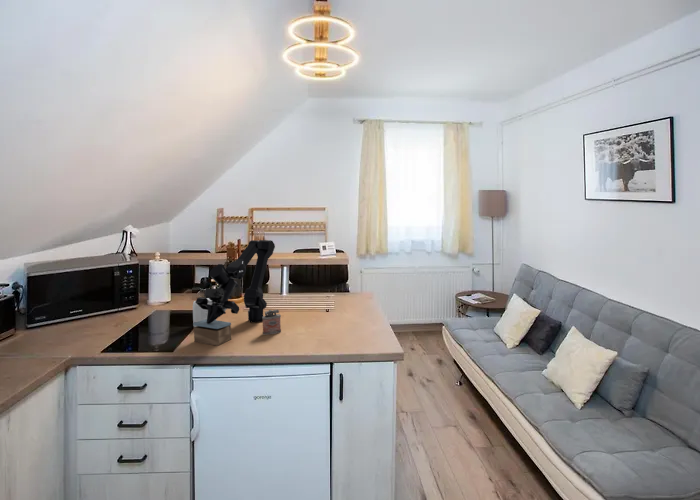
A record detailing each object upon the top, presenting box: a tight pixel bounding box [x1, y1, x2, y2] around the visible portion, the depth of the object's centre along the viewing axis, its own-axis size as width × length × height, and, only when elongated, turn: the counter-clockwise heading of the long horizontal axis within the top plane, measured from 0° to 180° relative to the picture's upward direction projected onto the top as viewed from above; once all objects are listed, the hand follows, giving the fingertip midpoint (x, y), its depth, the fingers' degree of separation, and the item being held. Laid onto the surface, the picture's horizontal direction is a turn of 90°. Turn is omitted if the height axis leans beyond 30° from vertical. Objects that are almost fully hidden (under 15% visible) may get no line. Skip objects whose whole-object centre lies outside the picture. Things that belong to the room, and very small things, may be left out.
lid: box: [192, 319, 232, 329], centre depth 172 cm, size 8×12×1 cm, turn 67°
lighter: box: [262, 309, 282, 336], centre depth 182 cm, size 8×3×10 cm, turn 117°
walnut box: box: [193, 324, 232, 347], centre depth 173 cm, size 8×12×6 cm, turn 67°
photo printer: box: [192, 297, 212, 328], centre depth 193 cm, size 10×4×12 cm, turn 123°
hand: (207, 323), depth 170 cm, fingers closed, pressing on lid
